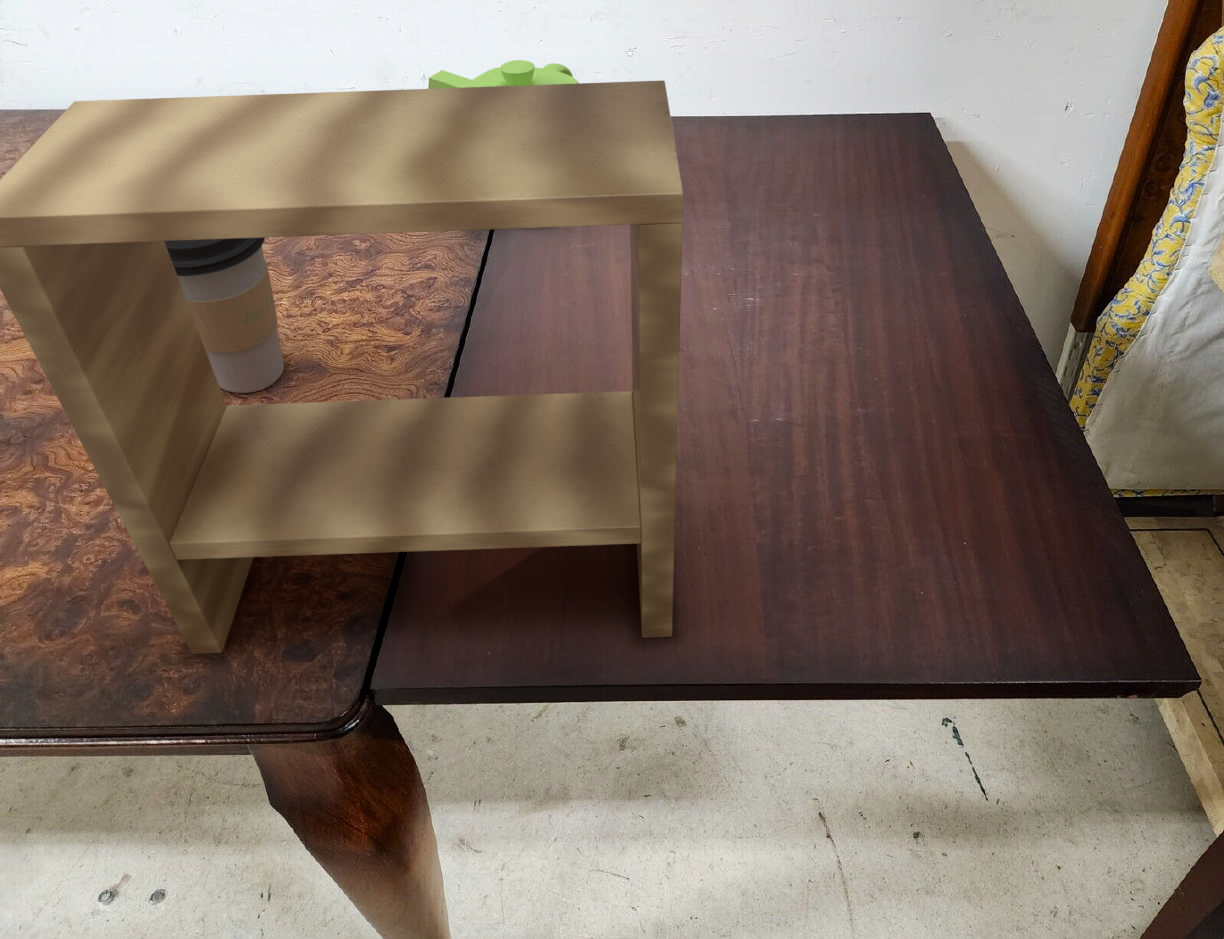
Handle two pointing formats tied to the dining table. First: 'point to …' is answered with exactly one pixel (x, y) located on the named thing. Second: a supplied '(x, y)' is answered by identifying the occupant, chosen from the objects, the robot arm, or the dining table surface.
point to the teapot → (507, 76)
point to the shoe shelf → (345, 430)
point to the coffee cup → (231, 309)
